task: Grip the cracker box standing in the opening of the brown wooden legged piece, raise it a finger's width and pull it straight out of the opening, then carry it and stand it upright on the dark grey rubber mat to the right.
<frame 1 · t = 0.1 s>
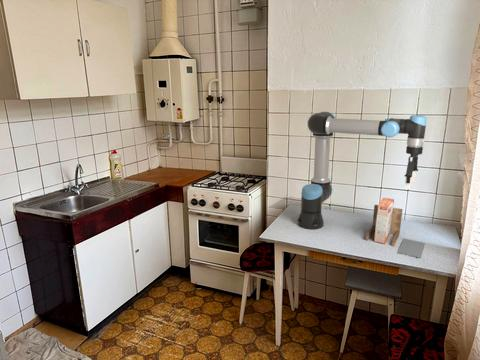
hand: (409, 185, 183), 28 cm above the table, fingers open, 13 cm apart
cracker box: (382, 238, 186), on the table
mat: (411, 248, 174), on the table
brown wooden legged piece: (382, 238, 186), on the table
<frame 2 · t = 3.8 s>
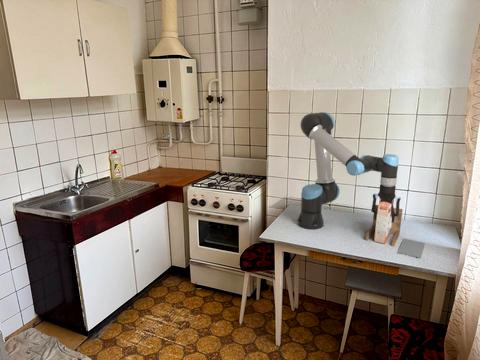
hand: (383, 226, 184), 7 cm above the table, fingers closed on cracker box, 6 cm apart
cracker box: (382, 238, 186), on the table, touching gripper
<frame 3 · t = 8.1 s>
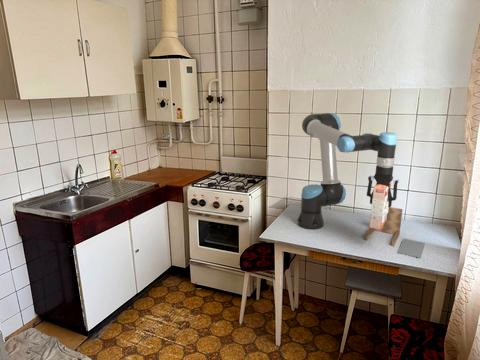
hand: (379, 211, 169), 20 cm above the table, fingers closed on cracker box, 6 cm apart
cracker box: (378, 224, 171), point 13 cm above the table, touching gripper
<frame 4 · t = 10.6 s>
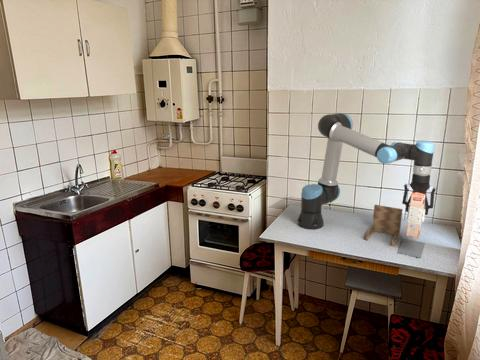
hand: (415, 219, 170), 16 cm above the table, fingers closed on cracker box, 6 cm apart
cracker box: (413, 232, 171), point 9 cm above the table, touching gripper
when the fingers open (8 cm above the table, at t = 12.7 s): cracker box stays where it is, resting on mat.
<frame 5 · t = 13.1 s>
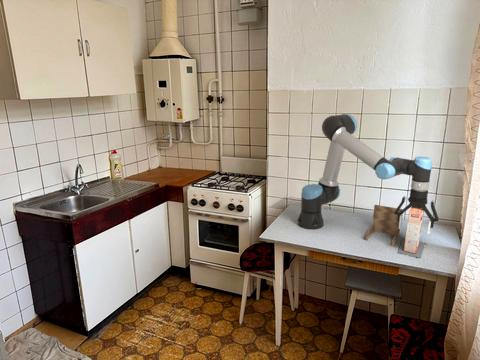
hand: (413, 230, 171), 10 cm above the table, fingers open, 12 cm apart
cracker box: (411, 247, 174), resting on mat
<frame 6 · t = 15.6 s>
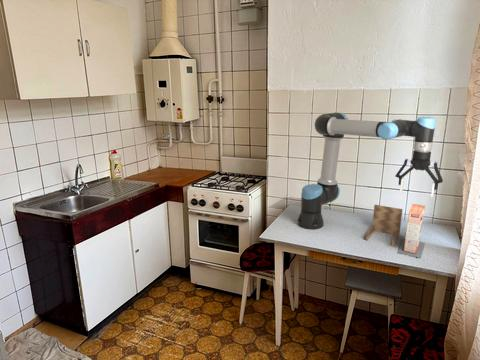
hand: (416, 193, 168), 29 cm above the table, fingers open, 13 cm apart
nothing on the table moved.
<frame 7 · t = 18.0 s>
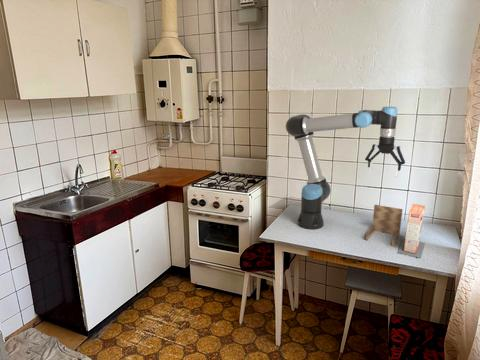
hand: (383, 174, 190), 32 cm above the table, fingers open, 13 cm apart
nothing on the table moved.
at the end: cracker box inside the target area on the mat (0.1 cm from its centre), point 0.4 cm above the mat's base; cracker box tilted 0°; the gripper is holding nothing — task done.
